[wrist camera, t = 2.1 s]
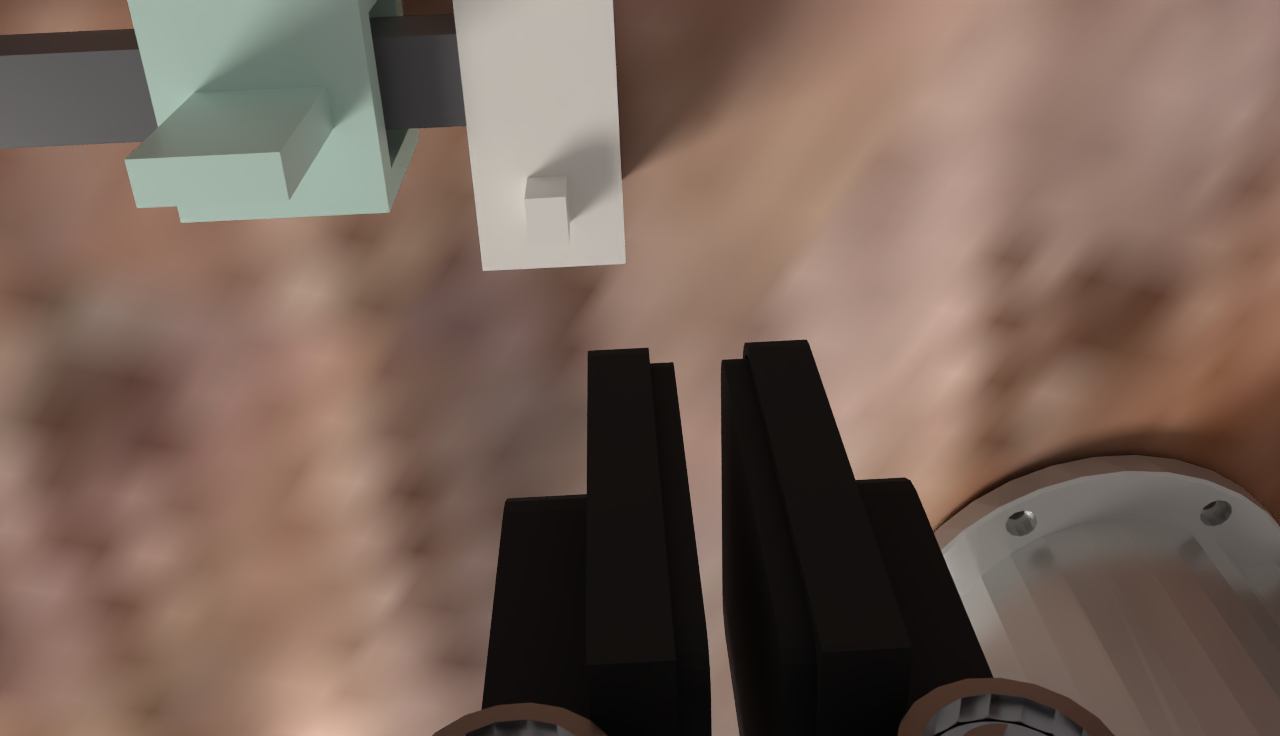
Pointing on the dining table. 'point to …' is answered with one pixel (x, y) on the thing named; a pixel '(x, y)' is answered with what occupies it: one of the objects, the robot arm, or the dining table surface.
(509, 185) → the rail
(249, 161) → the sleeve
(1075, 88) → the dining table surface
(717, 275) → the dining table surface
